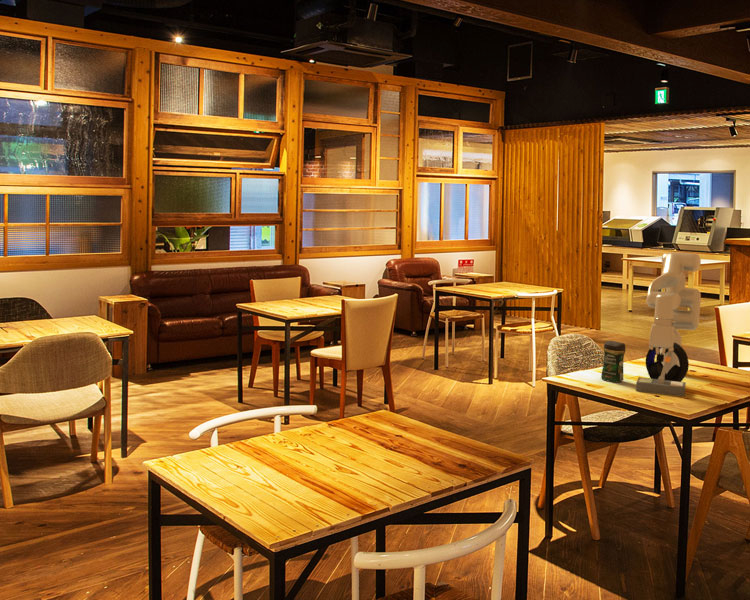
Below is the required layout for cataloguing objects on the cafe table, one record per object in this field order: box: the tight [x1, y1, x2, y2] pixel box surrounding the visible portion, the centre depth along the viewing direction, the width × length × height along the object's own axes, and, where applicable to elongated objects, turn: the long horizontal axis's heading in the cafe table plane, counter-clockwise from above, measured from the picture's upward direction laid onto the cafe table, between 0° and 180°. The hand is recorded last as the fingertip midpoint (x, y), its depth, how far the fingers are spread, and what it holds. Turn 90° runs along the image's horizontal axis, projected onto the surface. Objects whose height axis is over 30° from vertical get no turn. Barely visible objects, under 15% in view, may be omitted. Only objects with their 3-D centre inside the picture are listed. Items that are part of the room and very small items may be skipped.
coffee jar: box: [600, 340, 627, 383], centre depth 361 cm, size 10×8×19 cm
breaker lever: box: [660, 356, 671, 378], centre depth 343 cm, size 3×2×12 cm
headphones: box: [645, 342, 690, 382], centre depth 356 cm, size 19×7×20 cm, turn 38°
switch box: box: [635, 376, 687, 398], centre depth 344 cm, size 11×20×6 cm, turn 66°
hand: (659, 362), depth 344 cm, fingers closed
